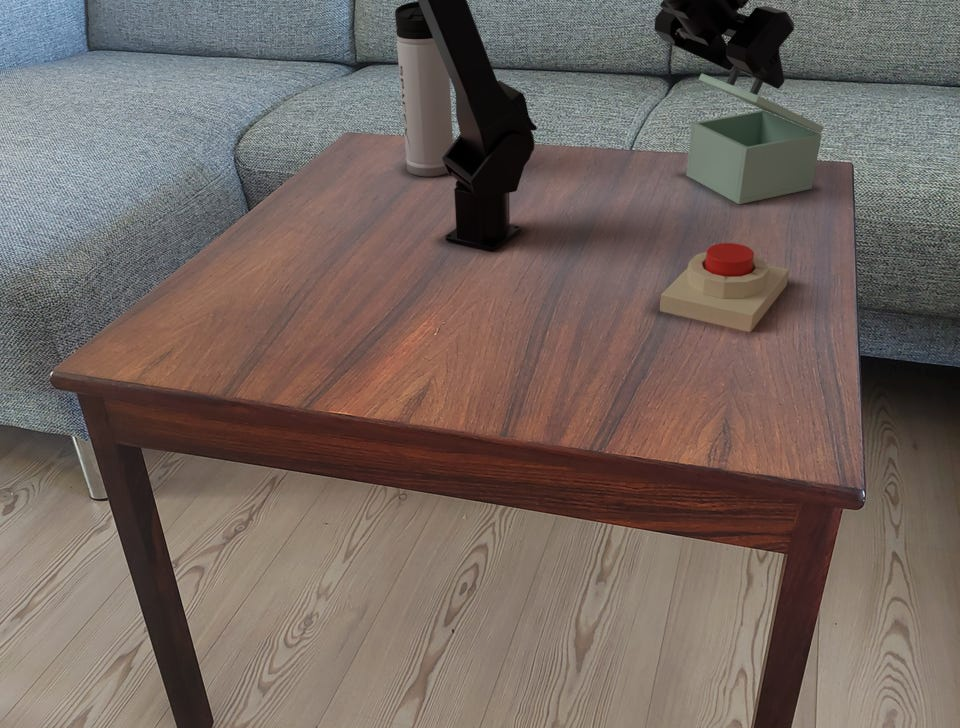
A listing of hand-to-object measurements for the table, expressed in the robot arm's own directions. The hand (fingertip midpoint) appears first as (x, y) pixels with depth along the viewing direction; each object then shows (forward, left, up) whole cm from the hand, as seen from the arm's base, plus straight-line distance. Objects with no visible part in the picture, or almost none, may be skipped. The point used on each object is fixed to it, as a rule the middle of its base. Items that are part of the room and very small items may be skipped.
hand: (755, 75), depth 108 cm
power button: (-31, -9, -10) cm, 33 cm away
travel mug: (-13, +38, -13) cm, 42 cm away
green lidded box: (+1, -1, -13) cm, 13 cm away
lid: (+1, -1, -4) cm, 4 cm away
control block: (-31, -9, -13) cm, 34 cm away
